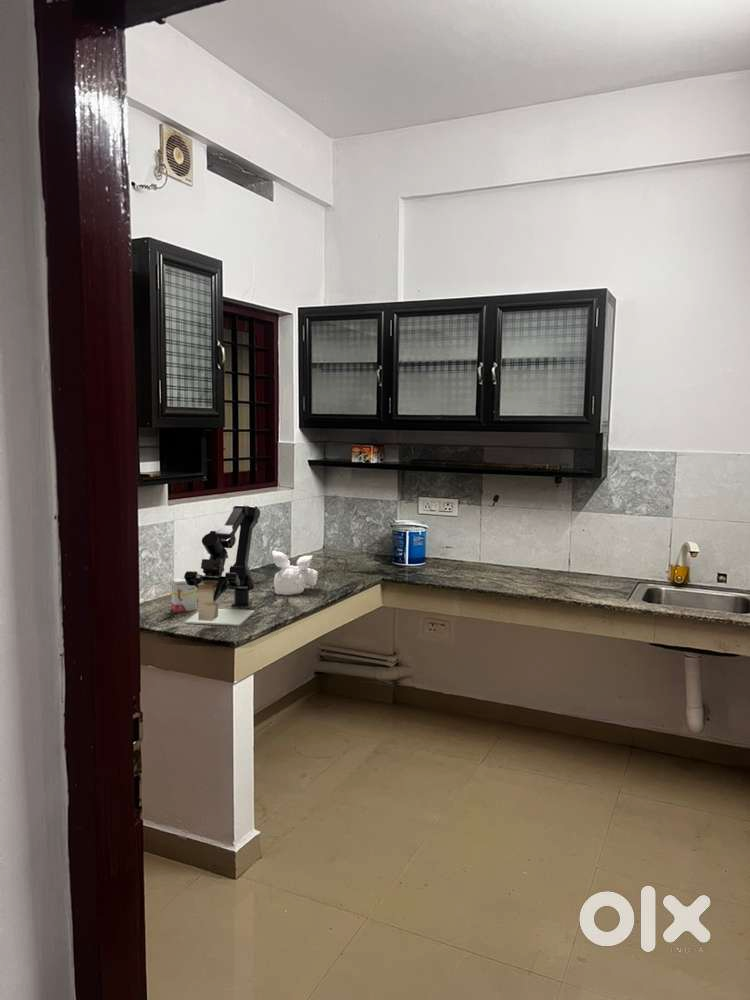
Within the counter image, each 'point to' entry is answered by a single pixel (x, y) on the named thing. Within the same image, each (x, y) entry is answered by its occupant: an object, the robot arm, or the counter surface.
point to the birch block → (207, 601)
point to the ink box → (183, 596)
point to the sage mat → (224, 617)
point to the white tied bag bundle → (292, 574)
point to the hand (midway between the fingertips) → (206, 600)
